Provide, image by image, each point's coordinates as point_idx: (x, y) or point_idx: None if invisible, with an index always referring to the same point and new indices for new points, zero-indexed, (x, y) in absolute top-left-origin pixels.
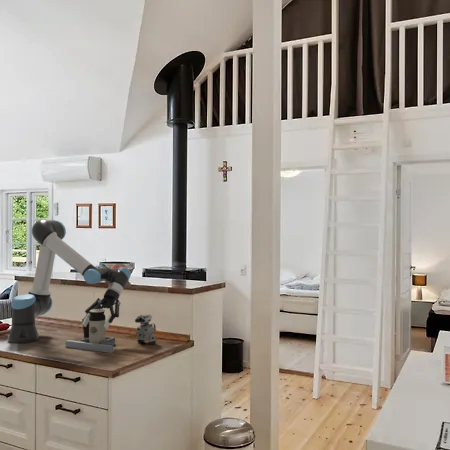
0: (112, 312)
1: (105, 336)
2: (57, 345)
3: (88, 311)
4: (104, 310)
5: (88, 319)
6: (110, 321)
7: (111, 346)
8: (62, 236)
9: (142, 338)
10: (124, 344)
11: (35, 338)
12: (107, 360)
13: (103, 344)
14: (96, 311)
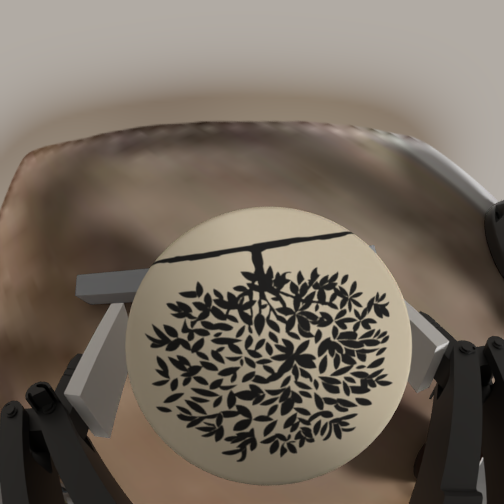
0: (49, 435)
1: None
2: (406, 256)
3: (472, 356)
4: (139, 405)
5: None
6: (78, 360)
7: (77, 280)
8: None
9: (60, 481)
10: (144, 456)
11: (498, 255)
12: (58, 203)
13: (131, 290)
14: (187, 232)
